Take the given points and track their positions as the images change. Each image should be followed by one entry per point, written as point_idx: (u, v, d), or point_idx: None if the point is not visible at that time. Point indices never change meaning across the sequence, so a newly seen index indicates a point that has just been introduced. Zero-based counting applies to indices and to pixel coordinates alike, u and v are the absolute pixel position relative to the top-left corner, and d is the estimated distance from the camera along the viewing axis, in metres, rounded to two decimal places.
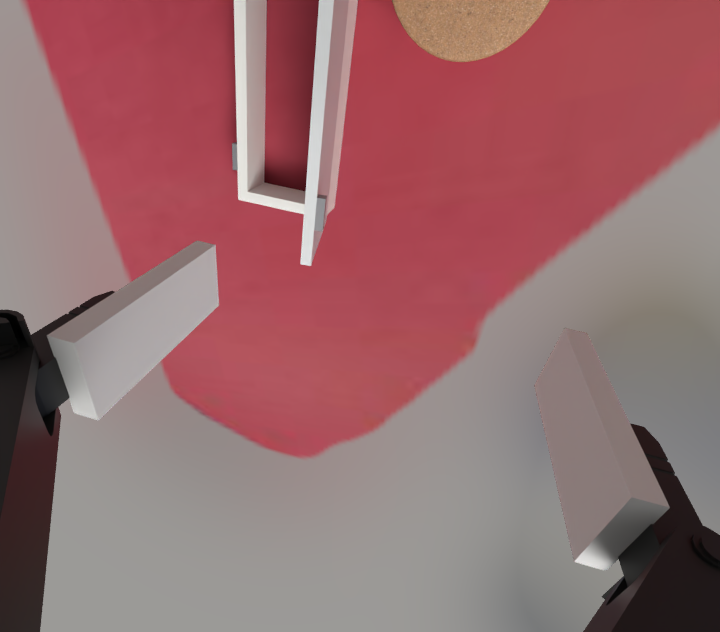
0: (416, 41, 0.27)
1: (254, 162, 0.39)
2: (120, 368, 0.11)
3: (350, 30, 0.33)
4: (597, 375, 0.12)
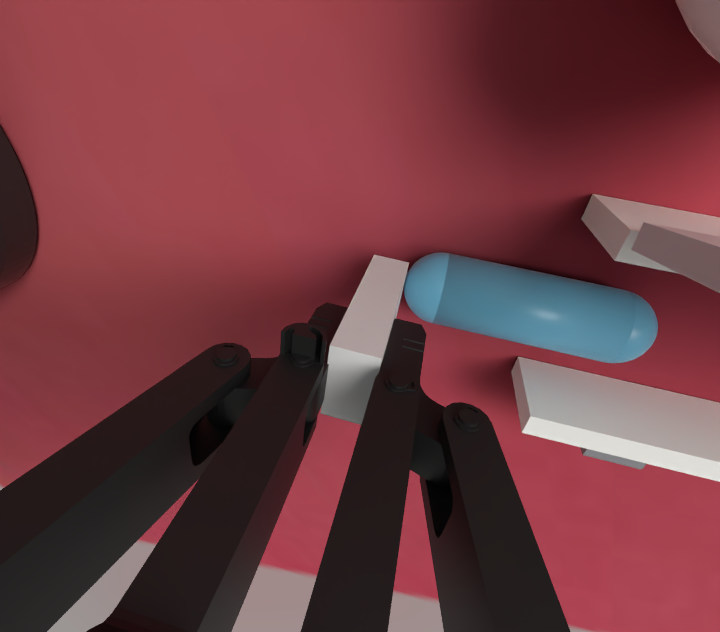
0: None
1: None
2: None
3: None
4: (392, 287, 0.14)
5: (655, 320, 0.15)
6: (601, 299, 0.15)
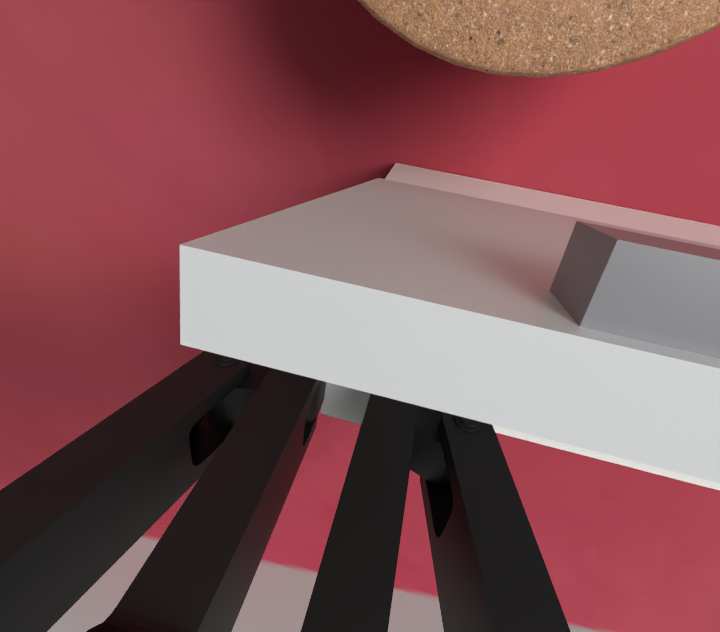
0: None
1: None
2: None
3: (573, 206, 0.14)
4: None
5: None
6: None
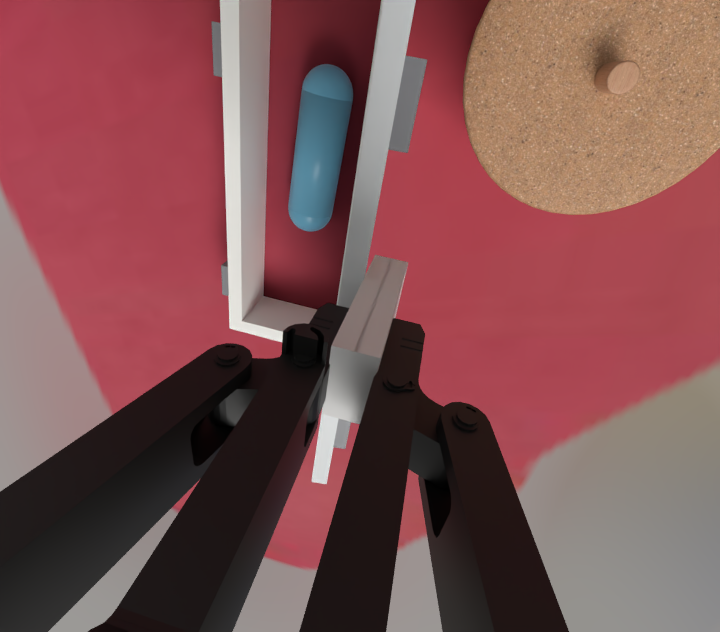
0: (499, 184, 0.18)
1: (251, 282, 0.30)
2: None
3: None
4: (391, 287, 0.14)
5: None
6: (333, 198, 0.26)
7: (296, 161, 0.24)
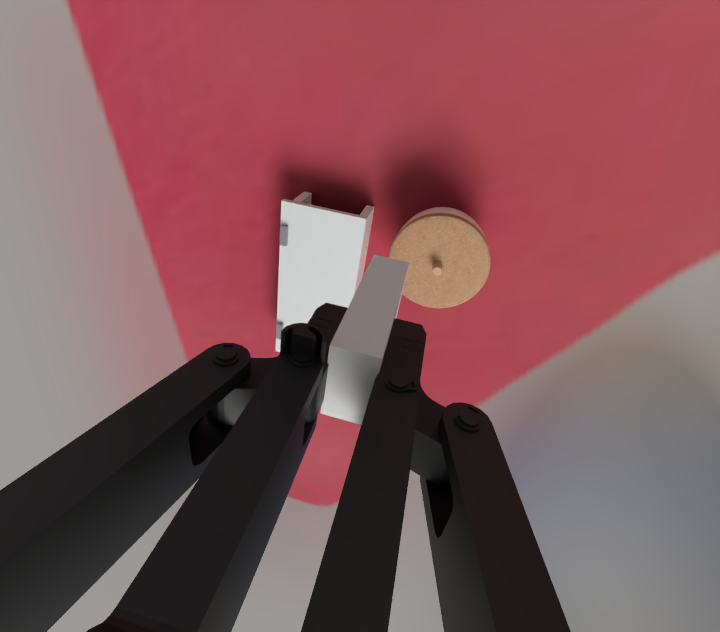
0: None
1: None
2: None
3: (364, 260, 0.51)
4: (393, 287, 0.14)
5: None
6: None
7: None
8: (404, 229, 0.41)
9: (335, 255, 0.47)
